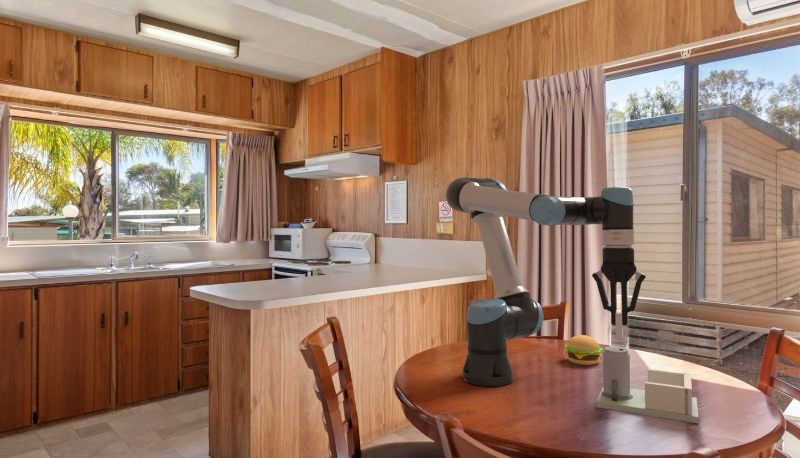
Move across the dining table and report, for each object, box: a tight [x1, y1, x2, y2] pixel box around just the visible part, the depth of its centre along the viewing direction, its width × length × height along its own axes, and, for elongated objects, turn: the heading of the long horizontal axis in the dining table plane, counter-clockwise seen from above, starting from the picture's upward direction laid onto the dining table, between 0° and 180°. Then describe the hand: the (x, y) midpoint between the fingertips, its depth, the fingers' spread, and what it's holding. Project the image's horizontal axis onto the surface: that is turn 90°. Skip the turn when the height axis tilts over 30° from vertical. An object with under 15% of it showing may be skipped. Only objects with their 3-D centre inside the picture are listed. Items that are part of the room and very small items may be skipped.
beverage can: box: [602, 346, 631, 398], centre depth 127 cm, size 6×6×12 cm
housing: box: [644, 368, 693, 415], centre depth 122 cm, size 10×14×6 cm
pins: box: [612, 380, 618, 401], centre depth 127 cm, size 1×10×5 cm, turn 150°
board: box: [595, 387, 700, 425], centre depth 124 cm, size 22×14×2 cm, turn 60°
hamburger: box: [564, 334, 603, 366], centre depth 165 cm, size 12×12×9 cm
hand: (619, 337), depth 127 cm, fingers closed
